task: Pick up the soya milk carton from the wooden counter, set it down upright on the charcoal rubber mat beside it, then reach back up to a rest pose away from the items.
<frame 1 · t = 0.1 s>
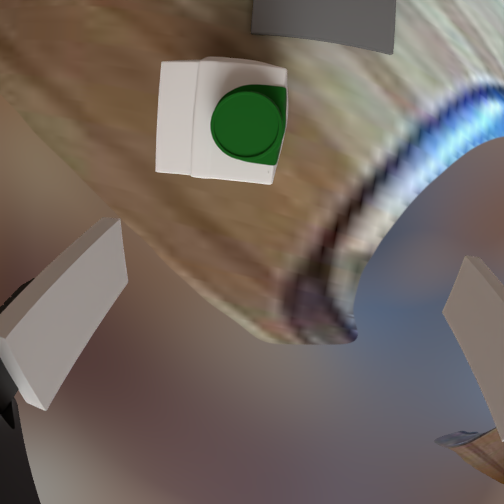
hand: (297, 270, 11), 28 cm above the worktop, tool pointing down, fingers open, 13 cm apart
soya milk: (246, 107, 35), on the worktop
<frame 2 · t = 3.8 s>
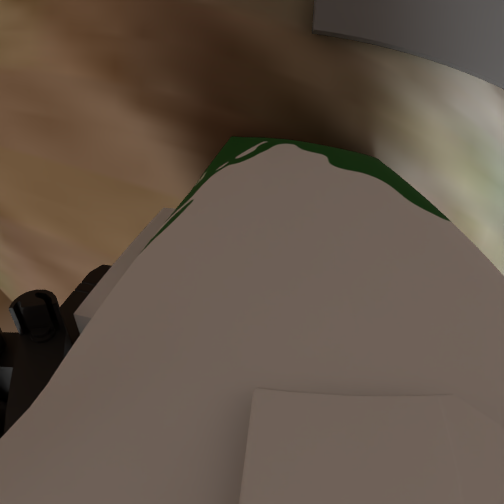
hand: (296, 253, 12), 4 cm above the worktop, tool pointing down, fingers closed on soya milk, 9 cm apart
soya milk: (293, 209, 17), on the worktop, touching gripper
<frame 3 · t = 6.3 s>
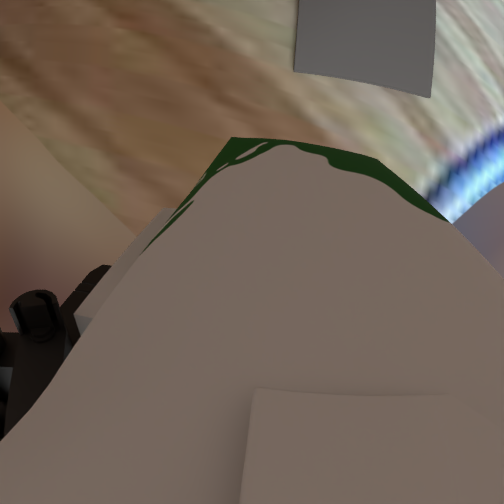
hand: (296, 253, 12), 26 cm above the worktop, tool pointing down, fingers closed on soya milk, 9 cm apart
soya milk: (293, 210, 17), point 21 cm above the worktop, touching gripper
charcoal mat: (369, 19, 27), on the worktop
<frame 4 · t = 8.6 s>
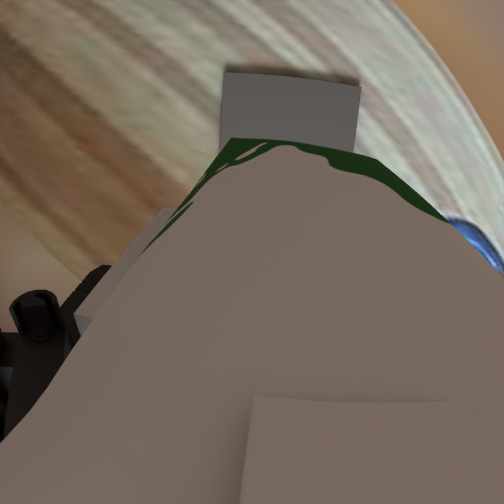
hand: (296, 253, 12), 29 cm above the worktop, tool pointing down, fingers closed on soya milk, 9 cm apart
soya milk: (293, 210, 17), point 24 cm above the worktop, touching gripper
charcoal mat: (287, 141, 38), on the worktop
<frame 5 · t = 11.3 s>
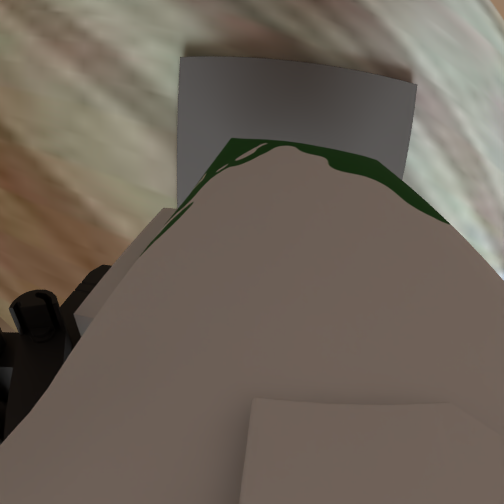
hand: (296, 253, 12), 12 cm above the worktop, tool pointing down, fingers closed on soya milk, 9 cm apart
soya milk: (293, 211, 17), point 7 cm above the worktop, touching gripper
charcoal mat: (290, 173, 23), on the worktop
when the fingers open (7 cm above the worktop, at t = 13.4 s): soya milk drops 1 cm, resting on charcoal mat.
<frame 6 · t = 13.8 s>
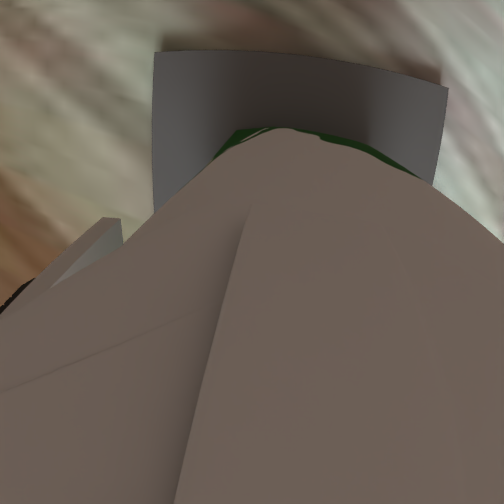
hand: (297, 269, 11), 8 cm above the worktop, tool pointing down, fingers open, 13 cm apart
soya milk: (293, 198, 18), point 1 cm above the worktop, touching charcoal mat
charcoal mat: (292, 196, 19), on the worktop
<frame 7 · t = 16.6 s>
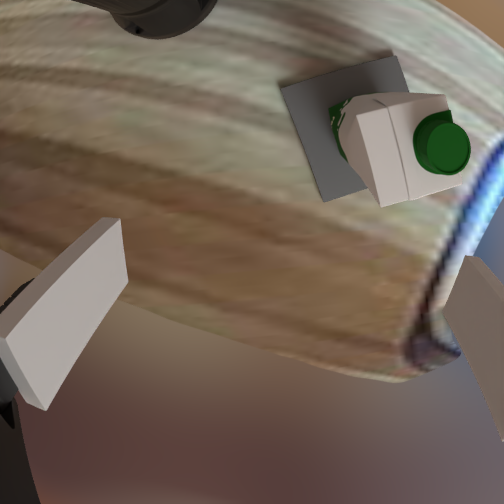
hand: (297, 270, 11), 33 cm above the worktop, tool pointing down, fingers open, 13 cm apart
soya milk: (361, 126, 37), point 1 cm above the worktop, touching charcoal mat
charcoal mat: (359, 127, 38), on the worktop
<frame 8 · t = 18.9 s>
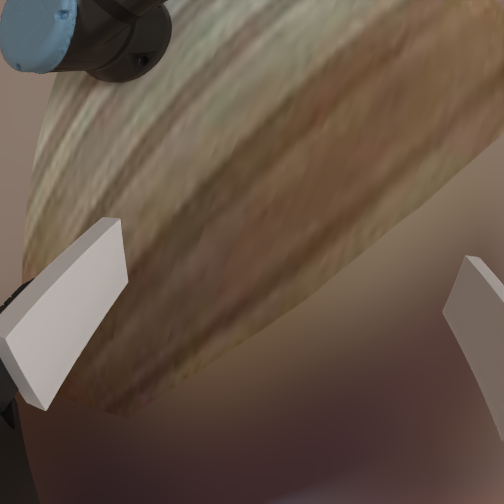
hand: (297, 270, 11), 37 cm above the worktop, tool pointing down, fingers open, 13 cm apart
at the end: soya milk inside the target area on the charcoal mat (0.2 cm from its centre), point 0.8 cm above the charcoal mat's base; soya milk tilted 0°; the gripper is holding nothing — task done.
